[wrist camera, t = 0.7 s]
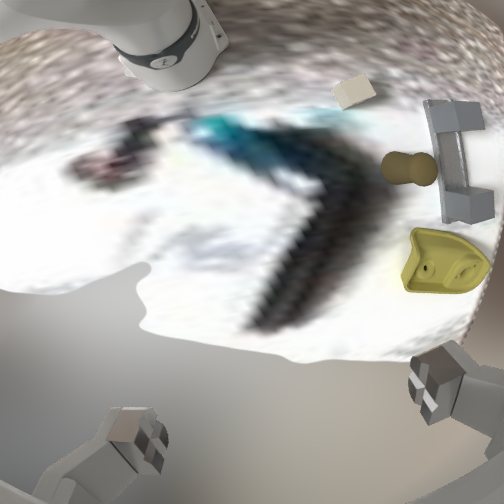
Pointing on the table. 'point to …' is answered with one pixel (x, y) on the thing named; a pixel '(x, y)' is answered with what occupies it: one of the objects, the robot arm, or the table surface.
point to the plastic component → (443, 263)
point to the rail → (447, 158)
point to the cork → (409, 168)
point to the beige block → (353, 91)
